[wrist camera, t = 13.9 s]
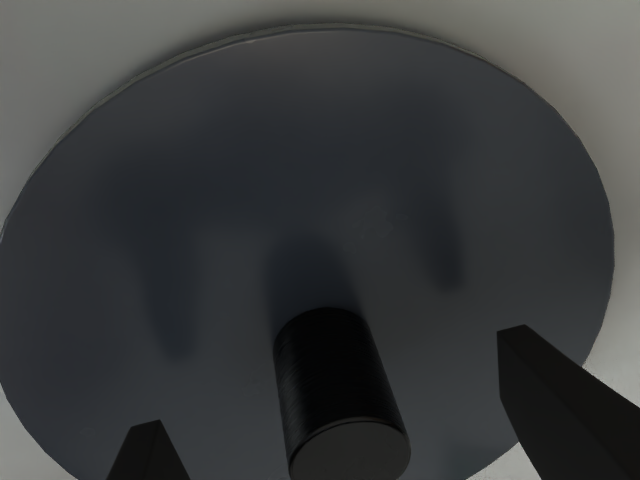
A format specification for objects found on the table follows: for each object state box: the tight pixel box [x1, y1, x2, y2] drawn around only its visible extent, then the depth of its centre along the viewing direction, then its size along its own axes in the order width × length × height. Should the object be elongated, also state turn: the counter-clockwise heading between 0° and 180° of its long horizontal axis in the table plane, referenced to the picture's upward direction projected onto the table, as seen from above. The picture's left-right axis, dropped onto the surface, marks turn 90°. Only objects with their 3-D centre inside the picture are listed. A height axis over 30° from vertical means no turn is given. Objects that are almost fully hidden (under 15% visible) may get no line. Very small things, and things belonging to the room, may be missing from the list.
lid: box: [0, 23, 615, 480], centre depth 13 cm, size 15×15×4 cm
